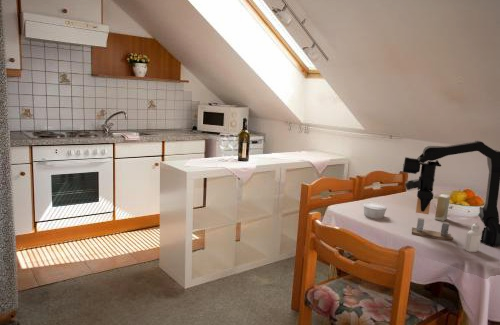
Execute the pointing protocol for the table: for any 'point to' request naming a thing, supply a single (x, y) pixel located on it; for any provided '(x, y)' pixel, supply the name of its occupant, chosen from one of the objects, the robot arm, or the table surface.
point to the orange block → (418, 207)
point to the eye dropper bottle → (473, 239)
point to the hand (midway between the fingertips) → (422, 209)
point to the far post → (420, 225)
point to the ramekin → (374, 210)
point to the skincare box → (442, 207)
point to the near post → (444, 229)
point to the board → (431, 234)
